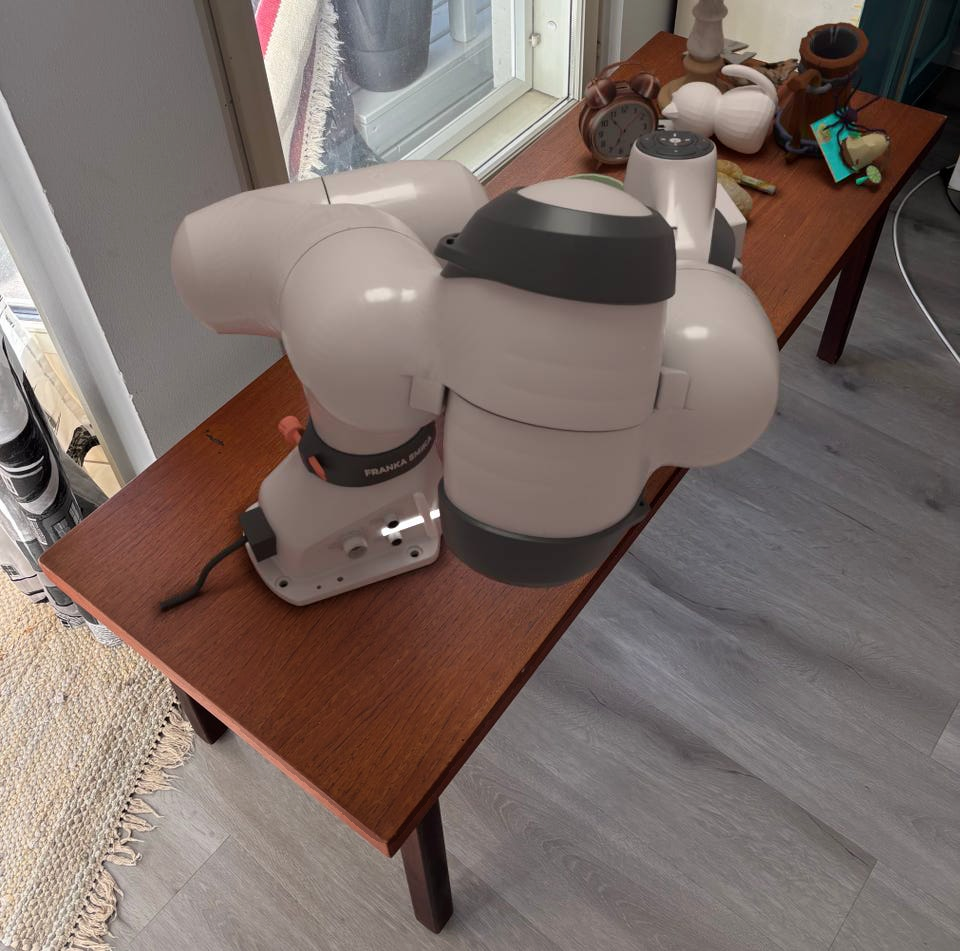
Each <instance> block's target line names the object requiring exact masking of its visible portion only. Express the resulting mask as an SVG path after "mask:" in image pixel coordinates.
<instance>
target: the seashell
mask: <svg viewBox="0 0 960 951" xmlns="http://www.w3.org/2000/svg"><path fill="white" fill-rule="evenodd" d="M727 175H728V176H727ZM729 176H730V177H729ZM742 177H743V171H742V168H740V166H739V165H738V164H737V163H735V162H732V161H730V160H727V159H717V183H720V184H721V185H722V187H723V188H724V190H725V191H726V192H727V194H728V195H729V197H730V198H731V199H732V201H733V202H734V204H735V205H736V206H737V208H738V209H739V211H740V212H741V214H742V215H743V216H744V218H745V219H746V218H747V217H749V215H750V214H751V212H752V210H753V206H754V204H753V202H754V201H753V198H752V197H751V195H750V194H749V192H748V191H747V190H746V189H744V188H743V187H741V186H740V185H739V184H741V183H740V182H741V181H740V180H742Z"/></svg>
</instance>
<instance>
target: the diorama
mask: <svg viewBox="0 0 960 951" xmlns="http://www.w3.org/2000/svg"><path fill="white" fill-rule="evenodd" d="M850 80H851V76H850V74H849V73H848V80H847V83H846V84H845V86H844V87H843V89H842V90H841V91H840V92H839V94H838V95H836V94H830V95H833V96H834V98H835V106H834V113H833V114H831V115H829V116H827V117H825V118H823V119H821V120H819V121H817V122H815V123H813V124H811V125H810V126H811V128H812V130H813V132H814V135H815V137H816V139H817V141H818V144H819V146H820V148H821V150H822V153H823V157H824V159H825V161H826V164H827V166H828V168H829V171H830V173H831V175H832V177H833V179H834V182H835V183H838V182H840V181H842V180H843V179H845V178H847V177H848V176H850V175H852V174H855V173H856V174H859V173H860V171H859V170H862V169H863V168H864V167H866V175H867V176H863V177H859V178H856V180H855V183H856V185H858V186H860V185H861V184H863V183H865V182H866V181H867V180H870V181H871V182H872V183H874V184H879V183H880V182H881V181H882V175H881V173H882V172H883V170H884V169H885V168H886V165H887V164H888V162H889V160H890V159H891V157H890V156H891V154H892V148H891V146H892V145H891V144H892V143H891V137H890V136H889V135H888V132H887V130H885V129H884V128H869V127H867V126H866V125H863V124H856V123H855V122H859V117H858V113H859V112H860V111H862V110H864V109H865V108H867V107H868V106H870V105H872V104H873V103H875V102H877V101H879V100H880V99H881V98H882V97H883V94H880V95H877V96H875V97H874V98H872V99H871V100H870V101H868V102H866V103H865V104H864V105H862V106H860V107H858V108H856V109H855V108H853V107H849V108H848V107H847V104H848V102H849V100H850V101H851V99H852V98H853V96H854V95H855V93H856V92H857V90H858V89H859V87H860V86H861V84H862V83H863V75H862V74H860V77H859V79H858V82H857V84H856V86H855V87H854V89H853V90H852V91H851V94H850V96H849V97H848V99H847V100H846V102H845V105H844V108H842V109H841V108H840V105H839V102H838V99H839V96H840V94H841V93H842V92H843V90H844V89H845V88H846V87H847V85H848V84H849V82H850ZM836 106H837V108H838V110H839V111H837V112H836V110H837V108H836ZM858 128H860V129H864V130H860V129H858ZM878 132H880V133H878ZM867 133H869V134H867ZM862 134H866V135H863V136H862ZM887 149H888V150H887ZM881 156H884V157H886V158H885V159H884V161H883V163H882V165H881V166H880V167H879V165H878V164H877V163H876V161H875V160H876V159H878V158H879V157H881ZM872 162H873V164H875V165H870V164H871V163H872ZM867 165H868V166H867Z"/></svg>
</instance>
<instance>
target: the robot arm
mask: <svg viewBox="0 0 960 951" xmlns="http://www.w3.org/2000/svg"><path fill="white" fill-rule="evenodd" d="M717 150H718V149H717V145H716V144H715V142H714V141H713V140H712V139H710V138H709V137H708V138H707V137H705V136H703V135H701V134H698V133H694V132H692V131H680V130H661V131H655V132H651V133H648V134H646V135H643V136H641V137H640V138H638V139H637V140H636V141H635V142H634V144H633V147H632V149H631V153H630V156H629V160H628V162H627V163H626V170H625V174H624V179H623V183H624V184H623V190H619V189H617V188H615V187H613V186H610V185H607V184H604V183H601V182H597V181H593V180H587V179H568V178H565V177H564V178H565V179H562V178H556V179H548V180H544V181H541V182H537V183H534V184H531V185H523V186H515V187H512V188H510V189H507V190H506V191H504V192H502V193H501V194H499V195H497V196H496V197H494V198H493V199H491V200H490V197H489V194H488V192H487V191H486V189H485V187H484V185H483V184H482V182H481V181H480V180H479V179H478V177H477V176H476V175H475V174H474V173H473V172H472V171H471V170H470V169H469V168H468V167H467V166H466V165H464V164H462V163H461V162H460V161H458V160H456V159H397V160H394V161H389V162H383V163H379V164H373V165H368V166H364V167H359V168H355V169H354V168H353V169H349V170H345V171H344V170H343V171H339V172H335V173H334V172H333V173H329V174H326V175H321V176H317V177H312V178H306V179H302V180H297V181H292V182H286V183H282V184H276V185H272V186H267V187H266V186H265V187H263V188H257V189H256V188H255V189H252V190H245V191H243V192H239V193H237V194H234V195H232V196H229V197H227V198H224V199H221V200H219V201H216V202H214V203H211V204H209V205H207V206H204V207H202V208H200V209H198V210H195V211H193V212H191V213H189V214H187V215H185V216H184V217H183V219H182V220H181V222H180V224H179V226H178V228H177V230H176V233H175V235H174V238H173V243H172V248H171V254H170V262H171V264H170V265H171V266H170V267H171V275H172V279H173V283H174V286H175V288H176V291H177V294H178V296H179V298H180V299H181V302H182V303H183V305H184V306H185V308H186V309H187V311H188V312H189V313H190V314H191V315H192V316H193V317H194V318H195V319H196V320H197V321H198V322H199V323H200V324H201V325H202V326H204V327H206V329H208V330H209V331H212V332H214V333H215V334H217V335H245V336H247V335H248V336H259V337H260V336H262V337H267V338H273V339H278V340H281V341H282V343H283V346H284V350H285V352H286V355H287V358H288V360H289V362H290V364H291V366H292V369H293V371H294V373H295V375H296V376H297V378H298V379H299V382H300V383H301V385H302V389H303V392H304V396H305V400H306V403H307V406H308V411H309V413H308V417H307V420H306V424H305V427H303V426H302V425H301V424H300V421H299V418H297V417H296V416H294V415H287V416H285V417H283V418H282V419H281V420H280V421H279V423H278V431H280V432H281V434H282V435H283V436H284V439H285V441H286V442H288V443H290V444H294V443H296V444H297V445H296V446H295V447H294V448H293V449H292V450H291V451H290V453H288V454H287V456H285V457H284V458H283V459H282V460H281V462H280V463H278V464H277V466H276V467H275V468H274V469H273V470H272V471H271V472H270V473H268V475H267V476H266V477H265V478H264V479H263V481H262V482H261V484H260V486H259V490H258V498H257V501H256V502H254V503H253V504H252V505H250V506H249V507H247V509H246V510H245V512H243V513H240V514H237V515H236V518H237V520H238V521H239V522H238V523H239V525H240V527H241V530H242V536H241V537H240V538H238V539H237V540H236V541H234V542H233V543H231V544H230V545H228V546H227V547H226V548H224V549H223V550H221V551H220V552H219V553H218V554H216V555H214V556H213V557H212V558H211V559H210V560H209V561H208V562H207V563H206V564H205V565H204V566H203V568H202V570H201V572H200V573H199V577H198V579H197V581H196V583H195V584H194V585H193V586H192V587H191V588H190V589H189V590H187V591H185V592H183V593H181V594H178V595H176V596H174V597H172V598H169V599H166V600H164V601H161V602H159V605H160V607H161V609H162V610H165V609H168V608H170V607H173V606H175V605H178V604H181V603H183V602H185V601H187V600H189V599H190V598H192V597H194V596H195V595H197V594H198V593H199V592H200V591H201V590H202V588H203V587H204V585H205V583H206V581H207V577H208V575H209V573H210V572H211V571H212V570H213V569H214V568H215V567H216V566H217V565H218V564H219V563H221V561H223V560H224V559H226V558H227V557H228V556H230V555H231V554H233V553H234V552H235V551H237V550H239V549H240V548H241V547H243V546H245V549H246V551H247V555H248V556H249V559H250V561H251V563H252V565H253V567H254V569H255V571H256V572H257V574H258V575H259V577H260V578H261V579H262V582H264V583H265V585H266V586H267V587H268V588H269V590H270V591H272V592H273V593H274V594H275V595H276V596H278V598H281V599H282V600H284V601H285V602H287V603H289V604H291V605H294V606H298V607H303V606H307V605H310V604H313V603H316V602H319V601H322V600H325V599H328V598H332V597H335V596H338V595H341V594H343V593H346V592H349V591H353V590H356V589H359V588H362V587H365V586H368V585H370V584H373V583H378V582H380V581H384V580H386V579H389V578H393V577H394V576H398V575H401V574H404V573H407V572H411V571H414V570H416V569H419V568H422V567H425V566H429V565H431V564H432V563H434V562H436V560H437V559H438V557H439V554H440V549H441V537H442V536H443V539H444V543H445V544H446V547H447V548H448V550H449V551H450V552H451V553H452V555H453V556H454V557H456V558H457V559H458V560H459V561H460V562H461V563H463V564H464V565H465V566H467V567H468V568H470V570H472V571H474V572H475V573H477V574H479V575H481V576H483V577H484V578H487V579H490V580H491V581H494V582H497V583H501V584H504V585H507V586H513V587H516V588H517V587H518V588H526V589H550V588H551V589H552V588H556V587H562V586H564V585H567V584H570V583H572V582H575V581H576V580H578V579H580V578H582V577H584V576H586V575H587V574H589V573H592V571H594V570H595V569H597V568H598V567H599V566H600V565H601V564H602V563H604V562H605V560H606V559H607V558H608V557H609V555H610V554H611V553H612V551H613V550H614V549H615V548H616V546H617V544H618V543H619V542H620V540H621V539H622V537H623V536H624V534H625V533H626V531H627V530H629V529H630V528H632V527H634V526H635V525H637V524H640V523H641V522H642V521H643V520H645V518H646V517H647V515H648V514H649V513H650V511H651V508H652V507H651V504H650V503H649V501H648V500H647V499H646V497H644V495H645V493H646V484H647V482H648V481H649V478H650V477H651V476H652V474H653V473H654V472H656V471H657V470H658V469H660V468H661V467H665V466H667V467H668V466H670V467H679V468H685V469H699V468H700V469H702V468H703V469H704V468H710V467H715V466H718V465H721V464H724V463H728V462H730V461H732V460H734V459H735V458H738V457H739V456H741V455H742V454H744V453H745V452H747V451H748V450H749V449H750V448H751V447H753V446H754V445H755V444H756V443H757V442H758V440H760V438H761V437H762V436H763V435H764V433H765V432H766V430H767V428H768V427H769V426H770V424H771V422H772V419H773V417H774V415H775V412H776V410H777V406H778V401H779V396H780V390H781V379H782V365H781V357H780V349H779V345H778V340H777V337H776V333H775V330H774V328H773V325H772V322H771V320H770V318H769V316H768V314H767V313H766V310H765V308H764V307H763V305H762V303H761V301H760V300H759V298H758V296H757V294H756V293H755V292H754V290H752V288H751V287H750V286H749V284H748V283H747V282H746V281H744V280H743V279H742V278H741V277H742V275H743V271H744V265H743V264H742V263H741V261H740V262H739V261H738V260H737V259H736V258H735V257H734V256H735V245H736V243H735V235H734V232H733V230H732V228H731V226H730V225H729V223H728V222H727V220H726V219H725V217H724V216H723V214H722V213H721V212H720V211H719V210H718V209H717V208H715V204H716V193H717V160H718V151H717ZM443 413H444V426H443V446H442V447H443V451H442V460H441V458H440V455H439V452H438V449H437V445H436V441H435V439H436V436H437V430H436V428H437V427H436V419H437V418H438V417H440V416H441V415H442V414H443ZM414 555H417V556H414ZM284 585H286V586H284ZM283 586H284V587H283Z"/></svg>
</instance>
